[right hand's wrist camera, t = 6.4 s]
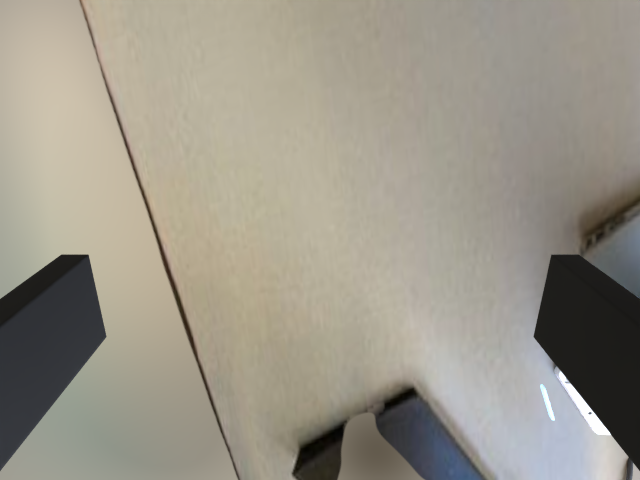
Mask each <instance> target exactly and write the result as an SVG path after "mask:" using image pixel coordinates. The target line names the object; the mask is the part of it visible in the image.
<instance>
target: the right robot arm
mask: <svg viewBox="0 0 640 480" xmlns="http://www.w3.org/2000/svg"><path fill="white" fill-rule="evenodd" d="M105 338H106V333H105V328H104V324H103V319H102V314H101V310H100V305H99V301H98V296H97V291H96V287H95V282H94V278H93V273H92V269H91V264H90V259H89V255H60V256H59V257H58V258H56V259H55V260H54V261H52V262H51V263H49V264H48V265H47V266H45V267H44V268H42V269H41V270H40V271H38V272H37V273H36V274H34V275H33V276H31V277H30V278H29V279H27V280H26V281H24V282H23V283H22V284H20V285H19V286H18V287H16V288H15V289H13V290H12V291H11V292H9V293H8V294H7V295H5V296H4V297H2V298H1V299H0V471H1V469H2V468H3V467H4V465H5V464H6V463H7V462H8V460H9V459H10V458H11V457H12V455H13V454H14V453H15V452H16V450H17V449H18V448H19V447H20V445H21V444H22V443H23V441H24V440H25V439H26V438H27V436H28V435H29V434H30V433H31V431H32V430H33V429H34V428H35V426H36V425H37V424H38V423H39V421H40V420H41V419H42V417H43V416H44V415H45V414H46V412H47V411H48V410H49V409H50V407H51V406H52V405H53V404H54V402H55V401H56V400H57V398H58V397H59V396H60V395H61V394H62V392H63V391H64V390H65V388H66V387H67V386H68V385H69V383H70V382H71V381H72V380H73V378H74V377H75V376H76V374H77V373H78V372H79V371H80V369H81V368H82V367H83V366H84V364H85V363H86V362H87V361H88V359H89V358H90V357H91V356H92V354H93V353H94V352H95V351H96V349H97V348H98V347H99V346H100V344H101V343H102V342H103V340H104V339H105ZM534 338H535V339H536V340H537V342H538V343H539V344H540V346H541V347H542V348H543V349H544V351H545V352H546V353H547V354H548V356H549V357H550V358H551V359H552V361H553V362H554V363H555V364H556V366H557V367H558V368H559V370H560V371H561V372H562V373H563V375H564V376H565V377H566V378H567V380H568V381H569V382H570V383H571V385H572V386H573V387H574V388H575V390H576V391H577V392H578V394H579V395H580V396H581V397H582V399H583V400H584V401H585V402H586V404H587V405H588V406H589V407H590V409H591V410H592V411H593V412H594V414H595V415H596V416H597V417H598V419H599V420H600V421H601V423H602V424H603V425H604V426H605V428H606V429H607V430H608V431H609V433H610V434H611V435H612V436H613V438H614V439H615V440H616V441H617V443H618V444H619V445H620V447H621V448H622V449H623V450H624V452H625V453H626V454H627V455H628V457H629V458H630V459H631V460H632V462H633V463H634V464H635V465H636V467H637V468H638V469H639V471H640V299H639V298H638V297H636V296H635V295H633V294H632V293H631V292H629V291H628V290H627V289H625V288H624V287H622V286H621V285H620V284H618V283H617V282H616V281H614V280H613V279H611V278H610V277H609V276H607V275H606V274H605V273H603V272H602V271H600V270H599V269H598V268H596V267H595V266H593V265H592V264H591V263H589V262H588V261H587V260H585V259H584V258H582V257H581V256H580V255H551V259H550V264H549V269H548V273H547V278H546V282H545V287H544V291H543V296H542V301H541V305H540V310H539V314H538V319H537V324H536V328H535V333H534Z"/></svg>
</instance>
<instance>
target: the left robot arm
mask: <svg viewBox="0 0 640 480" xmlns="http://www.w3.org/2000/svg"><path fill="white" fill-rule="evenodd" d="M554 372H555V374H556V376H557V377H558V379H559V380H560V382H561V384H562V385H563V387H564V388H565V390H566V391H567V393H568V394H569V396H570V397H571V399H572V400H573V402H574V403H575V405H576V406H577V408H578V409H579V411H580V412H581V414H582V415H583V417H584V418H585V420H586V421H587V423H588V424H589V426H590V427H591V428H592V430H593V431H594V432H595V433H597V434H602V435H611V434H610V433H609V431H608V430H607V429H606V428H605V426H604V425H603V424H602V423H601V421H600V420H599V419H598V417H597V416H596V415H595V414H594V412H593V411H592V410H591V409H590V407H589V406H588V405H587V404H586V402H585V401H584V400H583V399H582V397H581V396H580V395H579V394H578V392H577V391H576V390H575V388H574V387H573V386H572V385H571V383H570V382H569V381H568V380H567V378H566V377H565V376H564V375H563V373H562V372H561V371H560V370H559V368H558V367H557V366H556V368H555V370H554ZM540 386H541V390H542V393H543V396H544V400H545V403H546V406H547V409H548V413H549V416H550V417H551V419H552V420H555V419H554V416H553V412H552V409H551V406H550V402H549V399H548V396H547V392H546V389H545V388H544V386H543V385H540ZM632 473H633V462H632V460H631V459H630V458H629V459H628V466H627V478H626V480H632Z"/></svg>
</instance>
